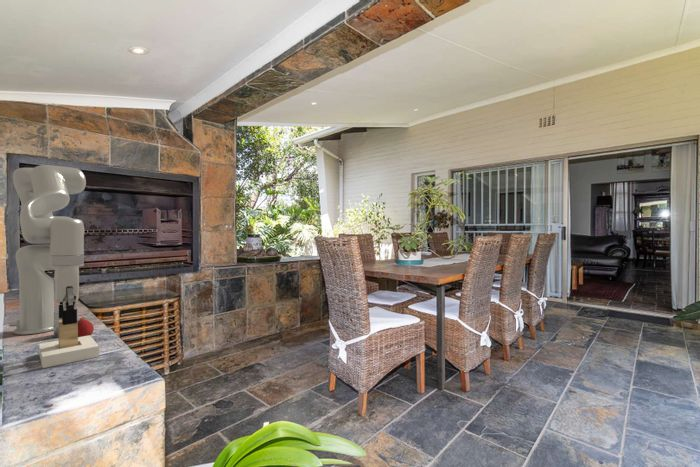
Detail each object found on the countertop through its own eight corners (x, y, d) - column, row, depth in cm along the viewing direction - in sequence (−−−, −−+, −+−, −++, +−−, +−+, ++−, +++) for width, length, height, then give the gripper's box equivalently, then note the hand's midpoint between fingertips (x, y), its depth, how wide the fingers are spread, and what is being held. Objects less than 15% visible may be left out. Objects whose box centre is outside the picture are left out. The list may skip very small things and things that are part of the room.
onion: (84, 344, 111) (84, 318, 111) (66, 344, 111) (66, 319, 111) (97, 338, 117) (97, 314, 117) (80, 339, 117) (80, 315, 117)
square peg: (58, 355, 100) (58, 320, 100) (76, 352, 103) (76, 318, 103) (60, 358, 97) (59, 322, 97) (78, 355, 100) (77, 320, 100)
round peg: (48, 337, 120) (48, 313, 120) (63, 332, 126) (63, 310, 126) (69, 336, 120) (69, 313, 120) (82, 331, 127) (82, 309, 127)
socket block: (39, 354, 102) (39, 343, 102) (90, 344, 110) (89, 335, 110) (42, 368, 90) (42, 356, 90) (98, 356, 99) (98, 345, 99)
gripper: (48, 260, 104) (48, 317, 104) (52, 264, 92) (53, 329, 92) (79, 258, 109) (79, 313, 109) (88, 262, 97) (88, 324, 97)
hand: (67, 320), depth 101 cm, fingers open, 9 cm apart
